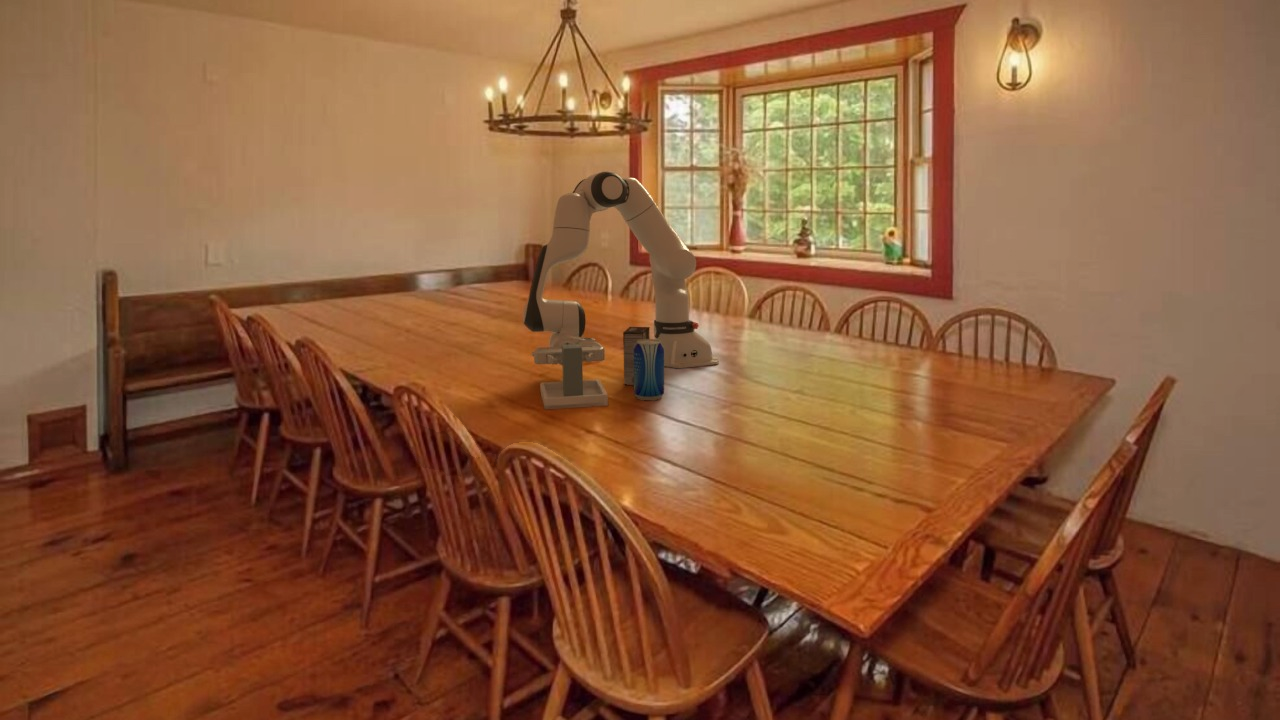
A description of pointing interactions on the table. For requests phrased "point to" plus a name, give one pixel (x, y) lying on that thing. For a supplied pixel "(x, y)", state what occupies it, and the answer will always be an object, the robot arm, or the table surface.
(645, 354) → the beer can
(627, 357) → the coffee box
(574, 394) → the slate block
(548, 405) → the bin
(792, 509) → the table surface
